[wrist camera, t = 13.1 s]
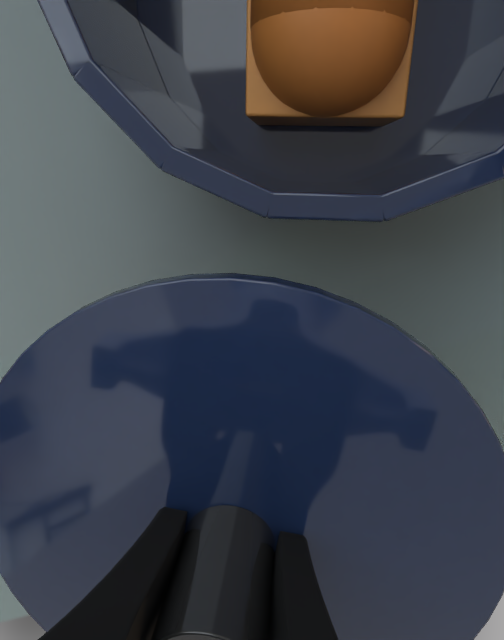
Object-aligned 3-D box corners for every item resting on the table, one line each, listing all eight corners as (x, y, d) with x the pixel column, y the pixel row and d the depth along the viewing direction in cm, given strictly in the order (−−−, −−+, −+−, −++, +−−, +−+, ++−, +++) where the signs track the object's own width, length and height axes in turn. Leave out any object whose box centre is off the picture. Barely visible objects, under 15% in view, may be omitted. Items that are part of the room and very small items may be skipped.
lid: (558, 279, 10) (740, 364, 6) (453, 709, 15) (513, 929, 11) (-46, 255, 11) (-252, 311, 7) (34, 656, 16) (-62, 832, 12)
